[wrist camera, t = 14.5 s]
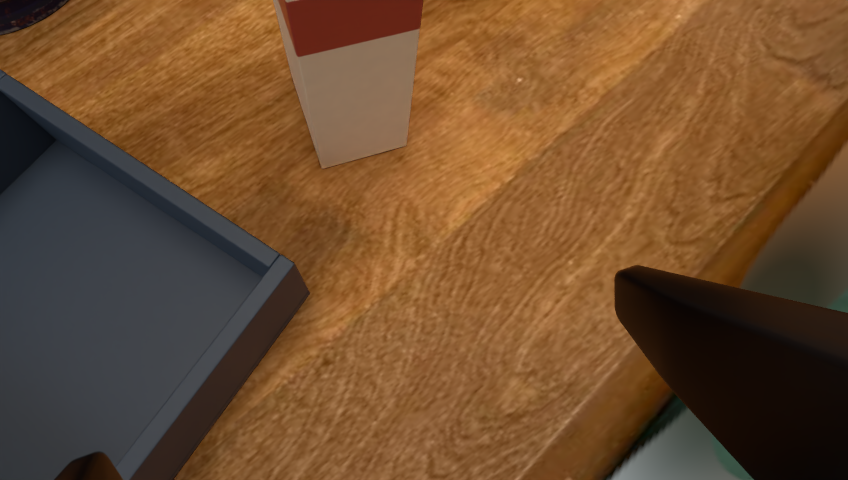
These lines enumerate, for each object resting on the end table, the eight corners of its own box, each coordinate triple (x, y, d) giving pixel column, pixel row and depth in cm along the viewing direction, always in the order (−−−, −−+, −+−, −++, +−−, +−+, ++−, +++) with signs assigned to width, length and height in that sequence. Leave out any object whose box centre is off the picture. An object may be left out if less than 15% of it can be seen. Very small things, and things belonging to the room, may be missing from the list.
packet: (407, 146, 25) (434, -86, 13) (321, 170, 24) (272, -55, 13) (373, 56, 26) (372, -223, 15) (291, 76, 25) (222, -202, 14)
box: (310, 293, 22) (295, 263, 18) (74, 614, 18) (-19, 674, 14) (62, 128, 24) (-7, 64, 19) (-210, 393, 19) (-374, 386, 15)
